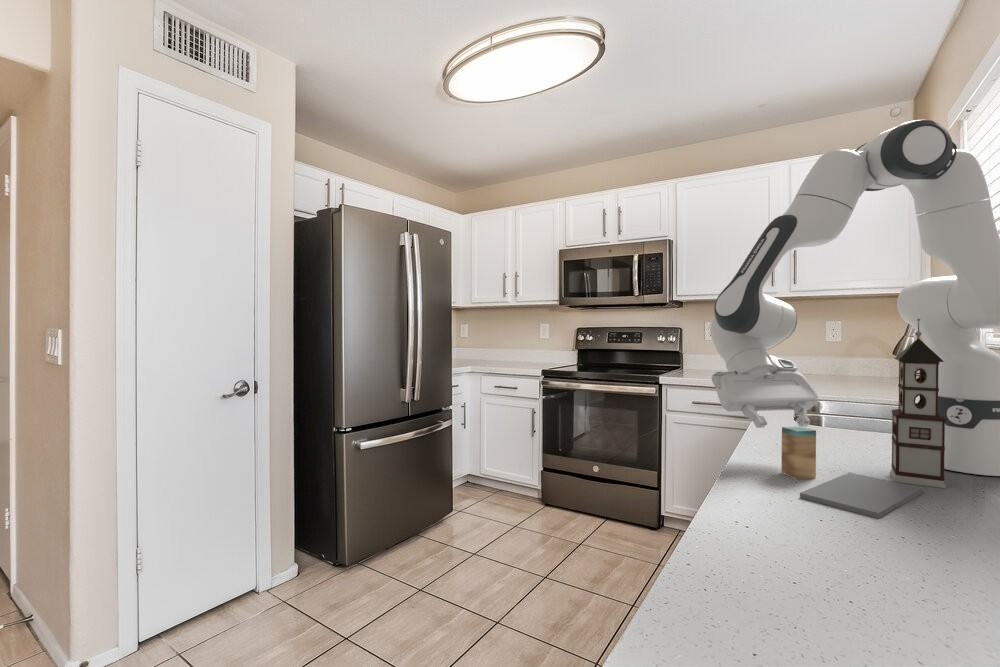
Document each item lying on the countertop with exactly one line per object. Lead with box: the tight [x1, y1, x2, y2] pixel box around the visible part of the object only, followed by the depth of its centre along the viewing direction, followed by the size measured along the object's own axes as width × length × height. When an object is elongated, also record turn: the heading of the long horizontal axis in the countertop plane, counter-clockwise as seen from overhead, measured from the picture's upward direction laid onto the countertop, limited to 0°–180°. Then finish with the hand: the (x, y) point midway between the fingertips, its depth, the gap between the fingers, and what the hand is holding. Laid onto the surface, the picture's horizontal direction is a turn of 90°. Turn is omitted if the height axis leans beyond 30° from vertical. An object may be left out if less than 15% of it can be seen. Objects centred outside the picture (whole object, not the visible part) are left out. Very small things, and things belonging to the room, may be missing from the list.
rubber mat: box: [799, 472, 924, 519], centre depth 85 cm, size 20×11×1 cm, turn 125°
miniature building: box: [889, 319, 947, 489], centre depth 93 cm, size 7×7×30 cm
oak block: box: [780, 425, 817, 480], centre depth 96 cm, size 4×4×9 cm
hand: (784, 425), depth 99 cm, fingers open, 8 cm apart
